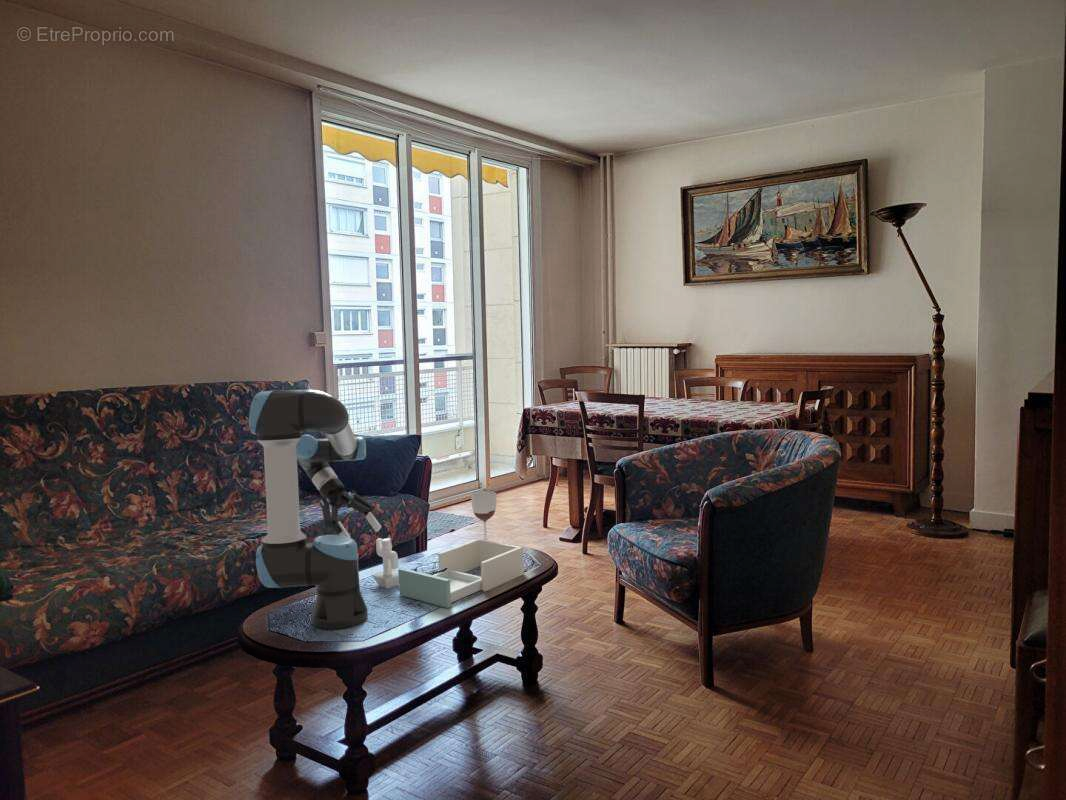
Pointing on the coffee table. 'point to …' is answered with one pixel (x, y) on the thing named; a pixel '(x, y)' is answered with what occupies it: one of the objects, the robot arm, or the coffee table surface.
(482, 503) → the wineglass
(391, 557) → the figurine
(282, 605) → the coffee table surface
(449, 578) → the tray
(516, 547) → the cubby
